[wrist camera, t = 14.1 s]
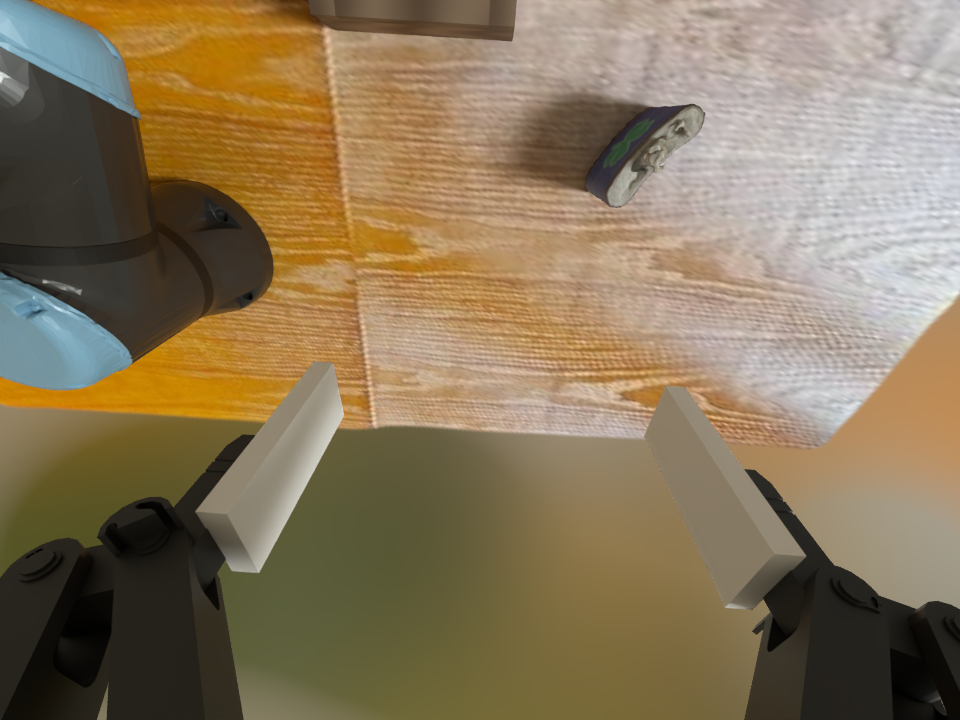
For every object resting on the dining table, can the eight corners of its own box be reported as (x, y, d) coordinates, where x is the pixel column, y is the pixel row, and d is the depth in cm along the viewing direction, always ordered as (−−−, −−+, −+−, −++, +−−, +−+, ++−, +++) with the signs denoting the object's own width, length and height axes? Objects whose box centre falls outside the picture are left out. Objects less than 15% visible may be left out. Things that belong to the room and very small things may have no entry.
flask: (594, 198, 39) (623, 218, 30) (576, 179, 38) (600, 194, 29) (668, 120, 35) (726, 117, 26) (649, 97, 34) (703, 85, 25)
